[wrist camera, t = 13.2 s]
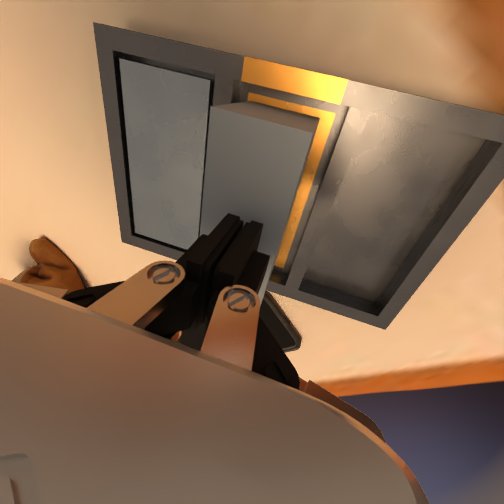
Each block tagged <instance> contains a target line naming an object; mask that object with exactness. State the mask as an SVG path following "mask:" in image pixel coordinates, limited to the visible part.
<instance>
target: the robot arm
mask: <svg viewBox="0 0 504 504" xmlns="http://www.w3.org/2000/svg"><path fill="white" fill-rule="evenodd" d="M262 229H263V223H259V222H256V221H253V220H252V221H251V222H250V223H249V222H246V223H245V225H244V226H243V221H242V220H240V216H236V215H233V214H230V213H228V214H227V215H226V216H225V217H224V218H223V219H222V220H221V221H220V223H219V224H218V225H217V226H216V227H215V228H214V229H213V231H212V232H211V233H210V234H209V235H205V234H202V235H201V236H200V237H199V238H198V239H197V240H196V241H195V242H194V243H193V244H192V245H191V246H190V247H189V248H188V250H187V251H186V252H185V253H184V254H183V255H182V256H181V257H180V258H179V259H178V260H177V261H176V262H172V261H158V262H154V263H152V264H150V265H148V266H146V267H145V268H143V269H142V270H140V271H139V272H138V273H136V274H135V275H133V276H132V277H130V278H129V279H128V280H126V281H122V282H116V283H111V284H106V285H100V286H95V287H89V288H84V289H80V290H76V291H73V292H71V293H69V290H66V289H60V288H53V287H47V286H40V285H33V284H27V283H20V282H13V281H10V280H6V279H3V278H0V504H429V501H428V499H427V497H426V495H425V493H424V491H423V489H422V487H421V485H420V484H419V482H418V480H417V479H416V477H415V476H414V474H413V473H412V471H411V470H410V469H409V468H408V466H407V465H406V464H405V463H404V461H403V460H402V459H401V458H400V457H399V456H398V455H397V454H396V453H395V452H394V451H393V450H392V449H391V448H390V447H389V446H388V445H387V444H386V443H385V439H384V437H383V435H382V432H381V430H380V429H379V428H378V426H377V425H376V423H375V422H374V421H372V419H370V418H369V417H368V416H367V415H365V414H363V413H362V412H360V411H359V410H357V409H355V408H354V407H352V406H351V405H349V404H348V403H346V402H344V401H343V400H341V399H339V398H338V397H336V396H335V395H333V394H331V393H330V392H328V391H327V390H325V389H323V388H322V387H320V386H319V385H317V384H315V383H314V382H312V381H311V380H309V381H308V382H306V381H304V380H303V379H301V378H300V377H299V376H298V373H297V371H296V369H295V368H294V366H293V365H292V363H291V362H290V360H289V359H288V357H287V356H286V354H285V353H284V351H283V350H282V348H281V347H280V345H279V344H278V342H277V341H276V339H275V338H274V336H273V335H272V333H271V332H270V330H269V329H268V327H267V326H266V324H265V323H264V321H263V320H262V319H261V317H260V316H259V310H260V299H259V297H258V293H259V290H260V288H261V285H262V282H263V279H264V276H265V273H266V270H267V266H268V263H269V259H270V255H267V254H264V253H261V252H258V251H257V250H258V246H259V242H260V238H261V233H262ZM206 320H207V322H206ZM205 322H206V329H205V339H204V342H203V345H202V348H201V351H198V350H195V349H193V348H190V347H188V346H185V345H182V344H180V343H177V342H176V341H177V340H178V339H179V337H180V336H181V334H182V331H183V330H186V329H192V330H194V331H196V329H197V327H198V325H199V324H202V325H203V324H204V323H205Z"/></svg>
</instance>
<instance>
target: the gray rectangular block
mask: <svg viewBox="0 0 504 504" xmlns="http://www.w3.org/2000/svg"><path fill="white" fill-rule="evenodd" d="M319 120H320V118H318V117H314V116H310V115H306V114H302V113H298V112H294V111H290V110H286V109H282V108H278V107H274V106H270V105H266V104H262V103H258V102H254V101H248V102H240V103H232V104H225V105H217V106H210V118H209V130H208V142H207V154H206V165H205V177H204V189H203V201H202V213H201V225H200V236H201V235H202V234H205V235H209V234H210V233H211V232H212V231H213V229H214V228H215V227H216V226H217V225H218V224H219V223H220V221H221V220H222V219H223V218H224V217H225V216H226V215H227V214H228V213H230V214H233V215H236V216H240V220H242V221H243V226H244V225H245V223H246V222H249V223H250V222H251V221H252V220H253V221H256V222H259V223H263V229H262V233H261V238H260V242H259V246H258V250H257V251H258V252H261V253H264V254H267V255H270V259H269V263H268V266H267V270H266V273H265V276H264V279H263V282H262V285H261V288H260V290H259V293H258V297H259V299H260V306H261V303H262V300H263V297H264V294H265V291H266V288H267V285H268V282H269V279H270V276H271V273H272V270H273V267H274V264H275V261H276V258H277V255H278V252H279V249H280V246H281V242H282V239H283V236H284V233H285V230H286V226H287V223H288V220H289V217H290V213H291V210H292V207H293V204H294V201H295V197H296V194H297V191H298V188H299V185H300V181H301V178H302V175H303V172H304V169H305V165H306V162H307V159H308V156H309V153H310V149H311V146H312V143H313V140H314V136H315V133H316V130H317V127H318V124H319Z"/></svg>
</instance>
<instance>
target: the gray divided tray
mask: <svg viewBox="0 0 504 504" xmlns="http://www.w3.org/2000/svg"><path fill="white" fill-rule="evenodd" d="M93 25H94V33H95V40H96V48H97V56H98V63H99V71H100V79H101V86H102V94H103V101H104V109H105V117H106V124H107V132H108V140H109V147H110V155H111V163H112V170H113V178H114V186H115V193H116V201H117V208H118V216H119V224H120V231H121V239H122V242H124V243H127V244H130V245H133V246H136V247H139V248H142V249H145V250H148V251H151V252H154V253H157V254H160V255H163V256H166V257H169V258H172V259H175V260H178V259H179V258H180V257H181V256H182V255H183V254H184V253H185V252H186V251H187V250H188V248H189V247H190V246H191V245H192V244H193V243H194V242H195V241H196V240H197V239H198V238H199V237H200V225H201V213H202V201H203V189H204V177H205V165H206V154H207V142H208V130H209V118H210V106H217V105H225V104H232V103H240V102H248V101H254V102H258V103H262V104H266V105H270V106H274V107H278V108H282V109H286V110H290V111H294V112H298V113H302V114H306V115H310V116H314V117H318V118H320V120H319V124H318V127H317V130H316V133H315V136H314V140H313V143H312V146H311V149H310V153H309V156H308V159H307V162H306V165H305V169H304V172H303V175H302V178H301V181H300V185H299V188H298V191H297V194H296V197H295V201H294V204H293V207H292V210H291V213H290V217H289V220H288V223H287V226H286V230H285V233H284V236H283V239H282V242H281V246H280V249H279V252H278V255H277V258H276V261H275V264H274V267H273V270H272V273H271V276H270V279H269V282H268V285H267V288H266V290H268V291H271V292H274V293H277V294H280V295H283V296H286V297H289V298H292V299H295V300H298V301H301V302H304V303H307V304H310V305H313V306H316V307H319V308H322V309H325V310H328V311H331V312H334V313H337V314H340V315H343V316H346V317H349V318H352V319H355V320H358V321H361V322H364V323H367V324H370V325H373V326H376V327H379V328H382V329H385V330H386V328H387V327H388V326H389V324H390V323H391V322H392V321H393V319H394V318H395V317H396V315H397V314H398V313H399V312H400V310H401V309H402V308H403V306H404V305H405V304H406V303H407V301H408V300H409V299H410V298H411V296H412V295H413V294H414V292H415V291H416V290H417V289H418V287H419V286H420V285H421V283H422V282H423V281H424V280H425V278H426V277H427V276H428V274H429V273H430V272H431V271H432V269H433V268H434V267H435V266H436V264H437V263H438V262H439V260H440V259H441V258H442V257H443V255H444V254H445V253H446V251H447V250H448V249H449V248H450V246H451V245H452V244H453V243H454V241H455V240H456V239H457V237H458V236H459V235H460V234H461V232H462V231H463V230H464V228H465V227H466V226H467V225H468V223H469V222H470V221H471V219H472V218H473V217H474V216H475V214H476V213H477V212H478V211H479V209H480V208H481V207H482V205H483V204H484V203H485V202H486V200H487V199H488V198H489V196H490V195H491V194H492V193H493V191H494V190H495V189H496V187H497V186H498V185H499V184H500V182H501V181H502V180H503V179H504V115H500V114H496V113H492V112H487V111H483V110H478V109H474V108H470V107H465V106H461V105H456V104H452V103H448V102H443V101H439V100H434V99H430V98H425V97H421V96H417V95H412V94H408V93H403V92H399V91H395V90H390V89H386V88H381V87H377V86H373V85H368V84H364V83H359V82H355V81H351V80H347V79H343V78H339V77H334V76H330V75H325V74H321V73H317V72H312V71H308V70H303V69H299V68H294V67H290V66H286V65H281V64H277V63H272V62H268V61H264V60H259V59H255V58H250V57H246V56H240V55H236V54H232V53H227V52H223V51H218V50H214V49H209V48H205V47H201V46H196V45H192V44H187V43H183V42H179V41H174V40H170V39H165V38H161V37H157V36H152V35H148V34H143V33H139V32H135V31H130V30H126V29H121V28H117V27H112V26H108V25H104V24H99V23H95V22H93Z"/></svg>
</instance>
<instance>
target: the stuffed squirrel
mask: <svg viewBox="0 0 504 504" xmlns="http://www.w3.org/2000/svg"><path fill="white" fill-rule="evenodd" d="M29 250H30V254H31V256H32V257H33V259H34V260H35V261H36V262H37V265H35V266H32V267H29V268H27V269H26V270H24V271H23V272H21V273H20V274H19V275H18V276H17V277H15V278H14V279H13V280H12V281H13V282H20V283H27V284H33V285H40V286H47V287H53V288H60V289H66V290H69V293H71V292H73V291H76V290H80V289H84V285H83V282H82V280H81V278H80V276H79V274H78V272H77V269H76V267H75V266H74V265H73V263H72V262H71V261H70V260H69V259H68V258H67V257H66V256H65V255H64V254H63V253H62V252H61V251H60V250H59V249H58V248H56V247H55V246H54V245H53V244H52V243H51V242H50V241H49V240H47V239H45V238H39V239H35V240H33V241H32V242H31V243H30V247H29Z"/></svg>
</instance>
